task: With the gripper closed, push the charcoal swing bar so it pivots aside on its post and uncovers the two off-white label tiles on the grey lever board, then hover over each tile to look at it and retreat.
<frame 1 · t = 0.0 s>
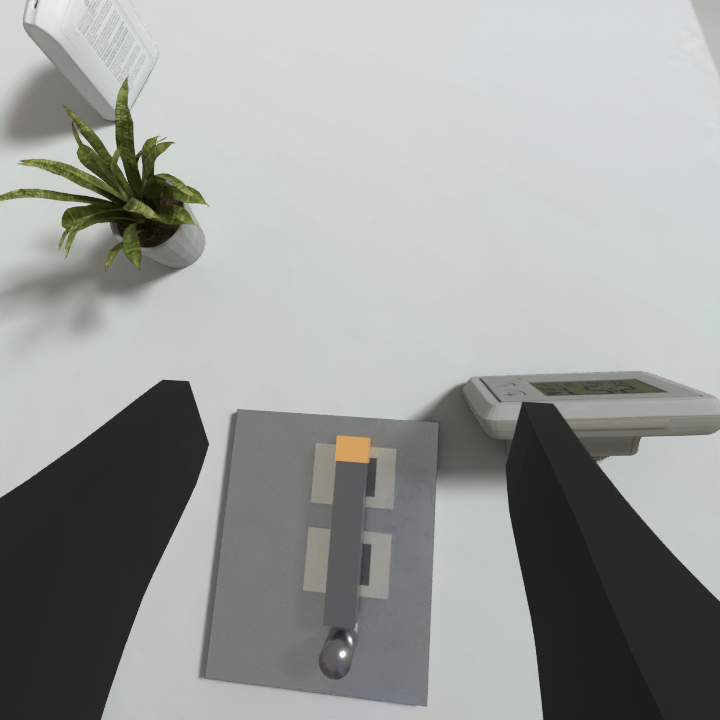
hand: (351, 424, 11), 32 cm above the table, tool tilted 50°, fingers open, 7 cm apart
photo printer: (130, 83, 52), on the table
digital clock: (553, 408, 42), on the table
grey lever board: (327, 544, 41), on the table
house plant: (173, 255, 48), on the table
swing bar: (347, 526, 38), point 3 cm above the table, hinge at 0.0°
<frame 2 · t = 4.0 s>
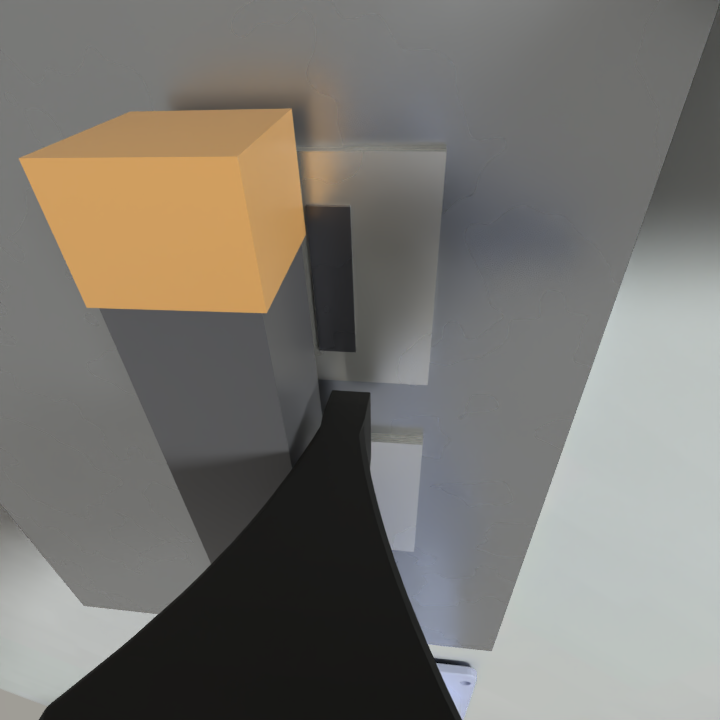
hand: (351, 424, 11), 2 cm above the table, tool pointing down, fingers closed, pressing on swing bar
grey lever board: (238, 434, 14), on the table
swing bar: (261, 473, 11), point 3 cm above the table, hinge at 0.7°, touching gripper
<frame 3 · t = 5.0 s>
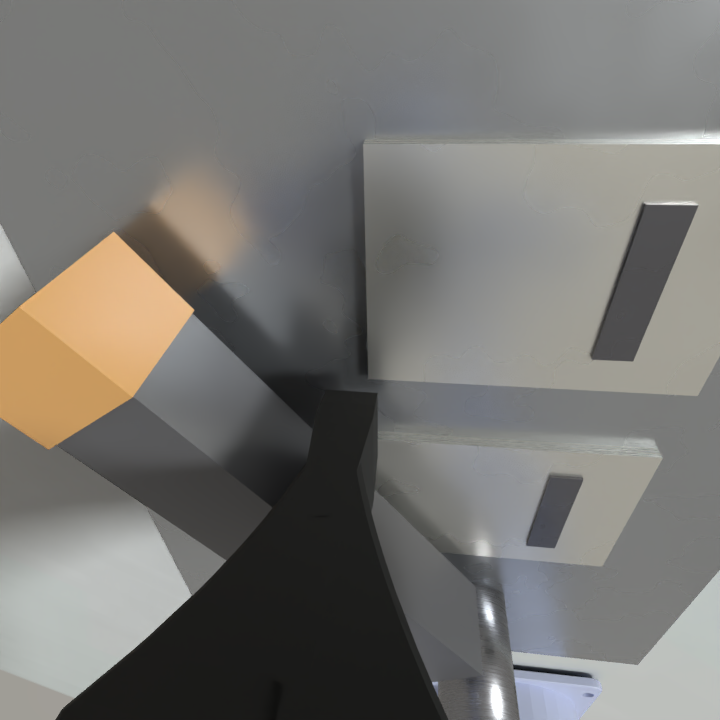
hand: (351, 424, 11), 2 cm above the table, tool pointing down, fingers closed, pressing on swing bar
grey lever board: (426, 444, 14), on the table
swing bar: (295, 515, 11), point 3 cm above the table, hinge at 34.5°, touching gripper
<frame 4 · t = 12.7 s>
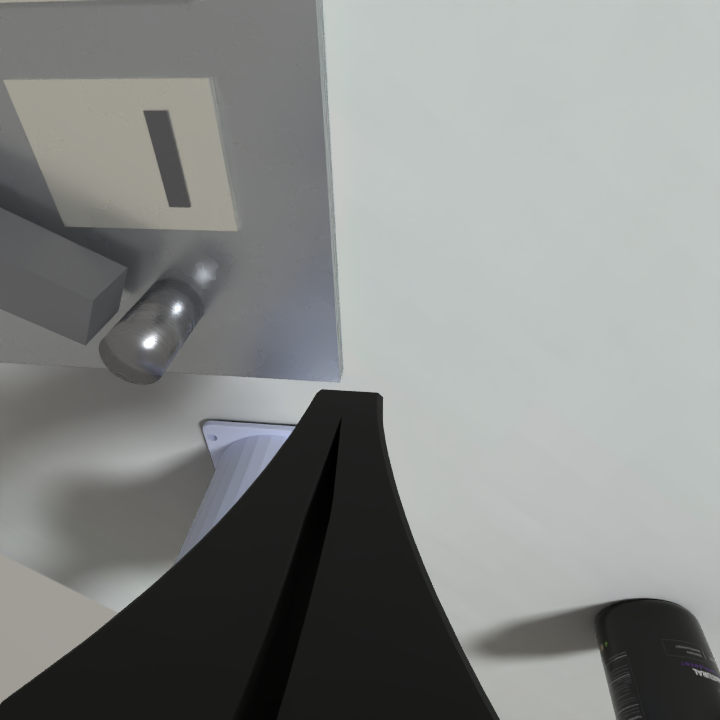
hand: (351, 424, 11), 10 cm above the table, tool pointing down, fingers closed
grey lever board: (85, 121, 17), on the table
supplement bottle: (640, 616, 35), on the table
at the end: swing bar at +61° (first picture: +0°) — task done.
